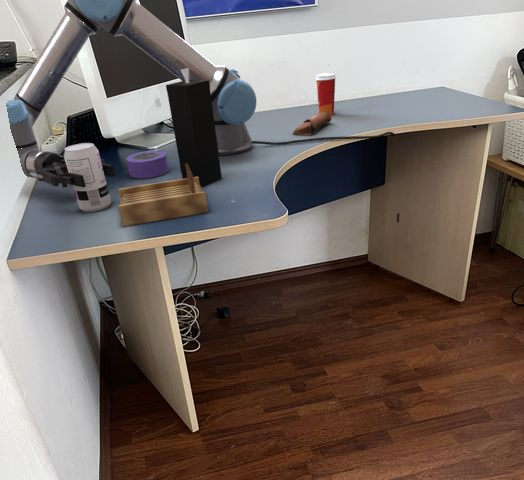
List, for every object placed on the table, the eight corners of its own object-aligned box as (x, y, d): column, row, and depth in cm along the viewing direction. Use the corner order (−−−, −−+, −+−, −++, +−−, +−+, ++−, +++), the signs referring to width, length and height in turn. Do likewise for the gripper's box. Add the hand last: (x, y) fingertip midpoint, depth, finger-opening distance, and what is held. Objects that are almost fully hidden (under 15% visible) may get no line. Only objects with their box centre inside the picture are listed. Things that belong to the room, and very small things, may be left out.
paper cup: (326, 111, 209) (325, 72, 201) (340, 113, 203) (340, 73, 196) (312, 115, 205) (310, 75, 197) (326, 117, 200) (325, 76, 192)
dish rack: (201, 194, 136) (195, 160, 131) (208, 212, 124) (202, 174, 120) (123, 207, 133) (114, 172, 128) (123, 226, 122) (114, 188, 117)
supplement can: (74, 208, 136) (56, 148, 127) (102, 199, 140) (86, 141, 132) (89, 215, 131) (71, 152, 122) (118, 205, 135) (102, 144, 127)
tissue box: (202, 175, 151) (185, 65, 135) (222, 178, 146) (207, 65, 130) (182, 183, 146) (162, 70, 130) (202, 186, 141) (184, 70, 126)
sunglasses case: (309, 121, 194) (317, 104, 190) (325, 131, 194) (334, 115, 189) (291, 133, 181) (299, 115, 176) (308, 144, 181) (316, 127, 176)
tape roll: (176, 167, 160) (173, 150, 157) (155, 179, 151) (152, 161, 149) (143, 166, 164) (140, 150, 162) (122, 178, 156) (117, 161, 153)
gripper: (84, 169, 149) (135, 179, 137) (16, 192, 137) (66, 204, 124) (76, 142, 145) (128, 149, 132) (6, 162, 132) (56, 172, 120)
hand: (98, 176), depth 128 cm, fingers closed on supplement can, 8 cm apart
